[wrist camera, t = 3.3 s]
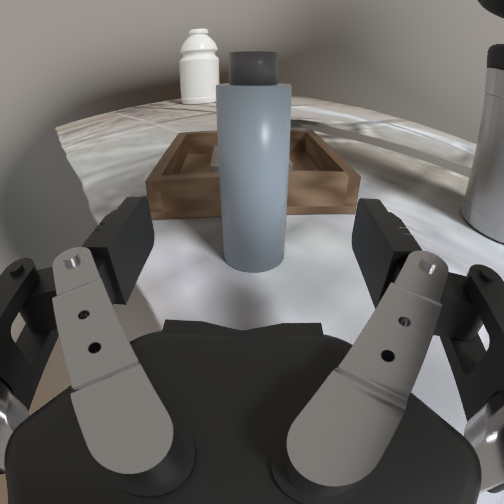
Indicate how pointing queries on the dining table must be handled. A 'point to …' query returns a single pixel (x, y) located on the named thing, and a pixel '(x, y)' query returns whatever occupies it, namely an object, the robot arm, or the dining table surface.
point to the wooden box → (208, 183)
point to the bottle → (199, 68)
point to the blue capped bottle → (253, 161)
